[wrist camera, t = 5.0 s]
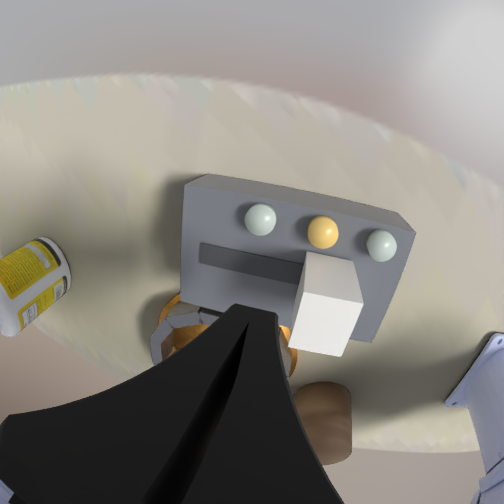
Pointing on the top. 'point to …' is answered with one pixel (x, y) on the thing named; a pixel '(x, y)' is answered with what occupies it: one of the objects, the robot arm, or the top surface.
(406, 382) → the top surface
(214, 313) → the ring
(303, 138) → the top surface
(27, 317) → the supplement bottle
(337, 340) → the handle
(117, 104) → the top surface
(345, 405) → the brown tapered cylinder
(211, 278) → the switch box
